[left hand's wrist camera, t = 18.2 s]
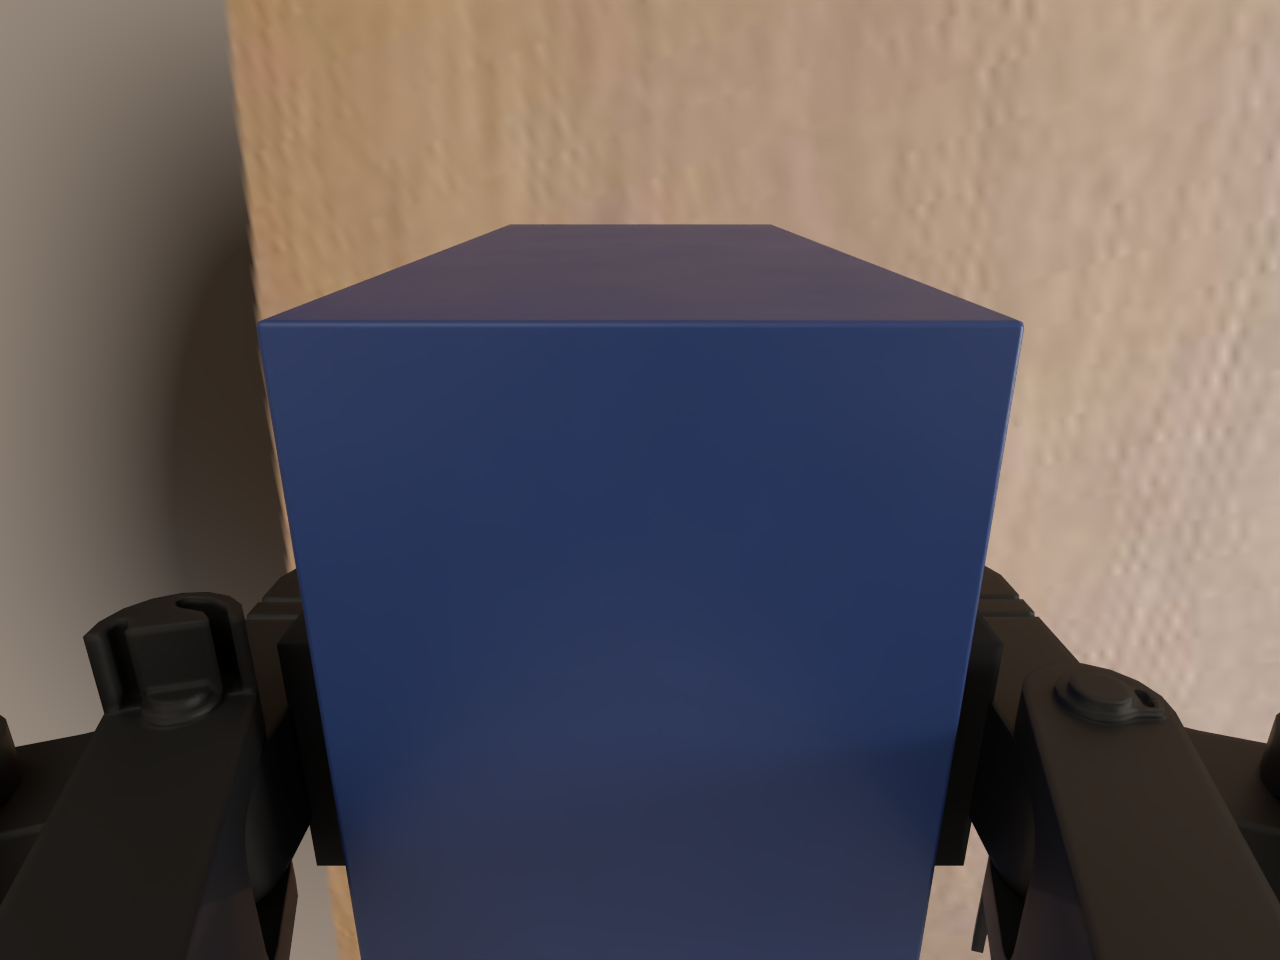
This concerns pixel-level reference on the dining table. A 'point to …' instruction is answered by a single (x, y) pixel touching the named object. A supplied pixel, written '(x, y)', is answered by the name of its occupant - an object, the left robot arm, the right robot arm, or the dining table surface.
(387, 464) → the block
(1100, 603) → the dining table surface
